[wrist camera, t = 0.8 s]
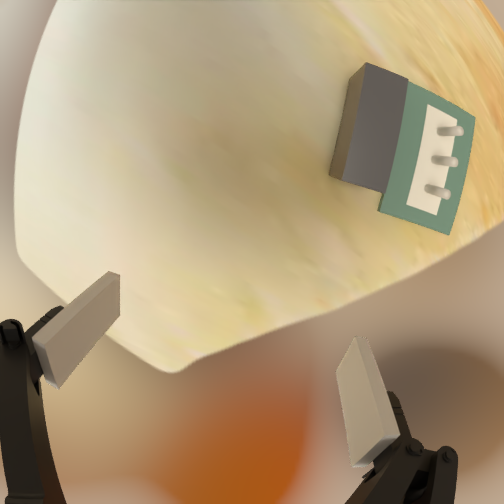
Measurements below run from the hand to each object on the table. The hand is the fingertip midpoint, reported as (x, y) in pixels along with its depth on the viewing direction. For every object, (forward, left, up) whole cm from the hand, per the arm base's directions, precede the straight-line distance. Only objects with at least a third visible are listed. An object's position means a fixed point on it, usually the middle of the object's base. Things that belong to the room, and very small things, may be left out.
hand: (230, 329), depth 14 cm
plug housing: (-14, +9, -23) cm, 28 cm away
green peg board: (-14, +20, -22) cm, 33 cm away
